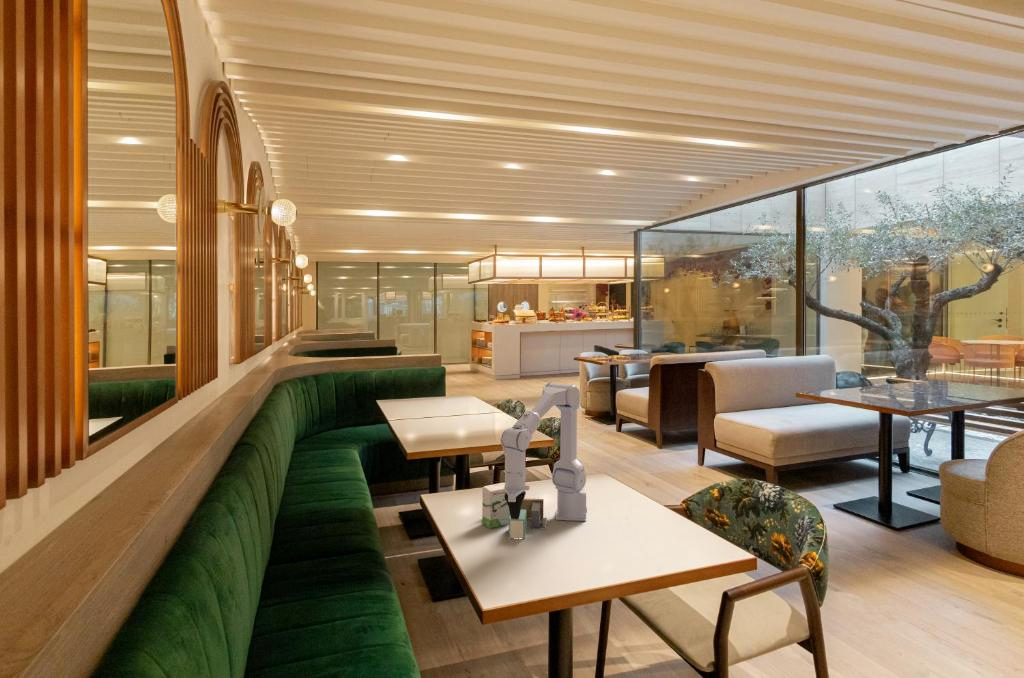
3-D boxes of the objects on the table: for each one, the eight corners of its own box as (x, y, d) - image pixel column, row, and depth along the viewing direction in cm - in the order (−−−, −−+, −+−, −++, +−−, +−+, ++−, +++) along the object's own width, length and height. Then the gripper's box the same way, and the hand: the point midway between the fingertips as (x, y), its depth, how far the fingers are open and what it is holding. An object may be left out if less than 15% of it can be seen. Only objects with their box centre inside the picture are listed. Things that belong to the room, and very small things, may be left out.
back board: (543, 517, 186) (543, 499, 186) (543, 518, 185) (543, 500, 185) (490, 515, 188) (490, 497, 187) (490, 516, 187) (490, 498, 186)
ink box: (489, 529, 177) (489, 491, 176) (481, 523, 181) (481, 486, 180) (513, 523, 182) (513, 486, 181) (504, 517, 186) (504, 481, 185)
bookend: (546, 519, 185) (546, 502, 184) (545, 529, 177) (545, 511, 177) (532, 518, 185) (532, 501, 185) (531, 528, 177) (531, 510, 177)
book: (526, 528, 177) (526, 509, 177) (524, 539, 170) (524, 519, 169) (511, 528, 178) (511, 509, 177) (509, 539, 170) (509, 519, 170)
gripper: (526, 479, 156) (526, 529, 156) (532, 464, 170) (531, 509, 171) (500, 478, 156) (500, 527, 157) (508, 463, 171) (507, 508, 172)
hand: (515, 518), depth 164 cm, fingers closed
